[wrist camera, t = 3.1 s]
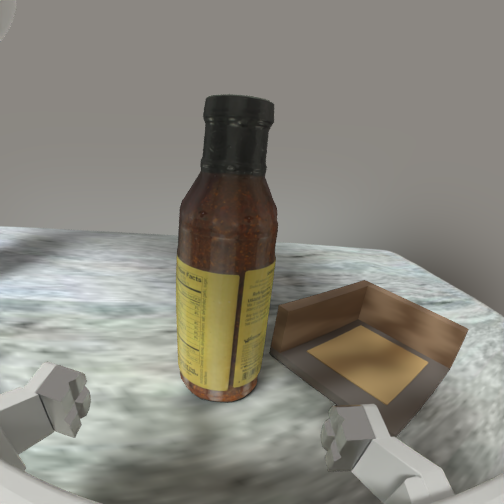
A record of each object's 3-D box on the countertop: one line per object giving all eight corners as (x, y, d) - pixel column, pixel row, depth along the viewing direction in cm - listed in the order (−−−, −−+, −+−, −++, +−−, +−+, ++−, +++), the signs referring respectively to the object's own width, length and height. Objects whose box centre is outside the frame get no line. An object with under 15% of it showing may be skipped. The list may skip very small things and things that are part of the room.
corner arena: (269, 353, 27) (278, 305, 26) (353, 318, 35) (364, 280, 34) (391, 441, 17) (421, 392, 16) (449, 370, 25) (468, 329, 24)
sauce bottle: (244, 354, 26) (279, 114, 21) (268, 402, 21) (323, 106, 15) (170, 357, 24) (187, 100, 18) (178, 410, 19) (200, 82, 13)
